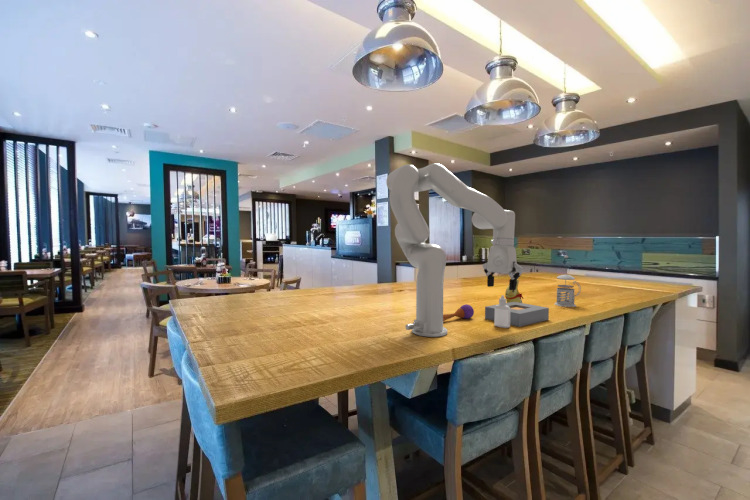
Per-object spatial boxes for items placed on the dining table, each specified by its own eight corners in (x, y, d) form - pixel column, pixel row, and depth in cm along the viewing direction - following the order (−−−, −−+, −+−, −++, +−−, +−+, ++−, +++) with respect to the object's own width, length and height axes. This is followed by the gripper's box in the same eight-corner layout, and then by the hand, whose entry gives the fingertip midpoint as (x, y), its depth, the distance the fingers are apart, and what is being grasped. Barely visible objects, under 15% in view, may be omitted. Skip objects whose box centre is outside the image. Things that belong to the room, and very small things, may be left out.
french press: (559, 302, 180) (560, 254, 179) (583, 305, 171) (584, 255, 170) (550, 304, 174) (551, 255, 173) (575, 308, 165) (577, 256, 164)
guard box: (519, 326, 130) (519, 313, 130) (484, 318, 144) (485, 306, 143) (548, 319, 141) (548, 307, 141) (514, 312, 155) (514, 301, 154)
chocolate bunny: (501, 308, 163) (501, 277, 162) (515, 306, 169) (516, 276, 168) (514, 311, 157) (514, 279, 157) (528, 308, 163) (528, 277, 163)
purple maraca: (429, 312, 138) (465, 303, 148) (432, 327, 138) (467, 317, 148) (439, 312, 133) (475, 303, 143) (442, 327, 133) (478, 317, 143)
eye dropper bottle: (503, 328, 127) (503, 296, 127) (492, 325, 132) (492, 294, 132) (512, 327, 129) (512, 296, 128) (500, 324, 134) (501, 293, 134)
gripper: (478, 242, 135) (476, 285, 135) (517, 243, 120) (515, 292, 121) (490, 242, 139) (488, 284, 139) (530, 244, 124) (527, 290, 125)
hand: (501, 288), depth 130 cm, fingers open, 9 cm apart
